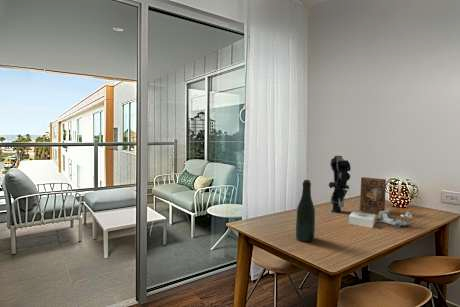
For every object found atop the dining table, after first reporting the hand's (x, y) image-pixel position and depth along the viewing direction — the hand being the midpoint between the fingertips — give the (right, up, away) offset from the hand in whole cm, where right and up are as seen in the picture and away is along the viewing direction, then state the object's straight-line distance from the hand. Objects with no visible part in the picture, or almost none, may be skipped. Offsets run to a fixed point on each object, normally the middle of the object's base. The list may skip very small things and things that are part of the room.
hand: (341, 201), depth 194 cm
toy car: (+31, -14, -10) cm, 35 cm away
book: (+30, -11, +17) cm, 36 cm away
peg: (0, -4, 0) cm, 4 cm away
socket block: (+10, -13, -9) cm, 19 cm away
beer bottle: (-35, -15, -38) cm, 54 cm away
